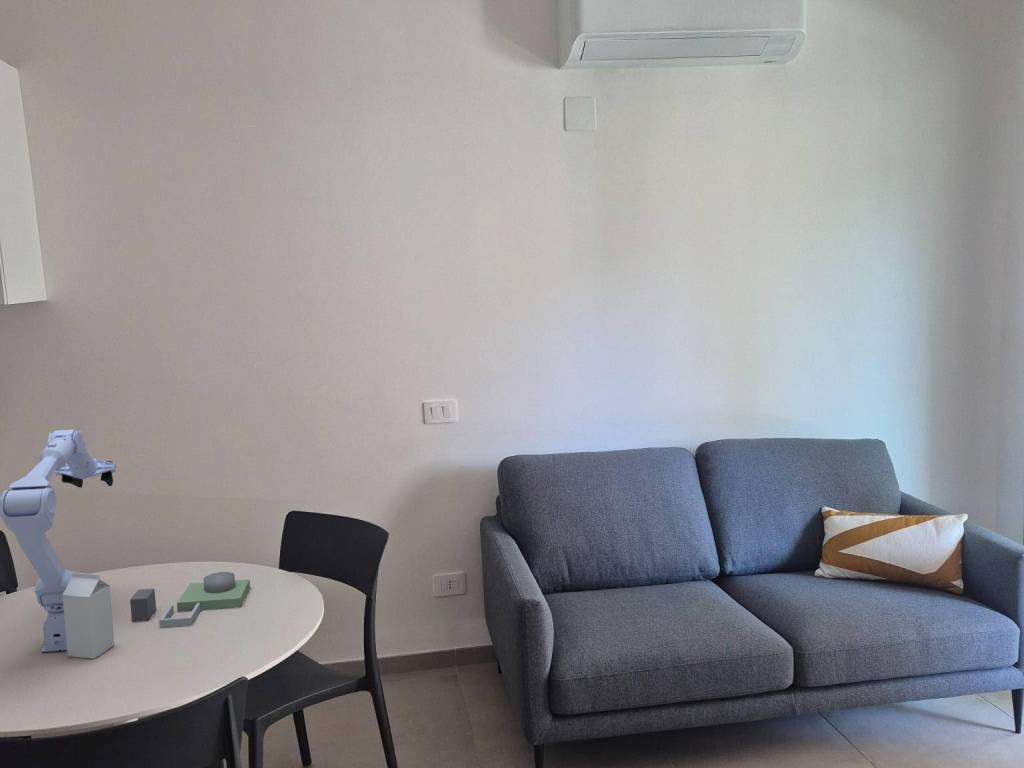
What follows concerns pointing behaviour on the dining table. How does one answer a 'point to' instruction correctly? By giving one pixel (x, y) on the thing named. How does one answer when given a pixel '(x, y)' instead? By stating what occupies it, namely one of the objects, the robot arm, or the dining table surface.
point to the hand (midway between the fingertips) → (96, 483)
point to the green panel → (207, 598)
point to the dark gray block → (143, 605)
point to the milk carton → (88, 616)
